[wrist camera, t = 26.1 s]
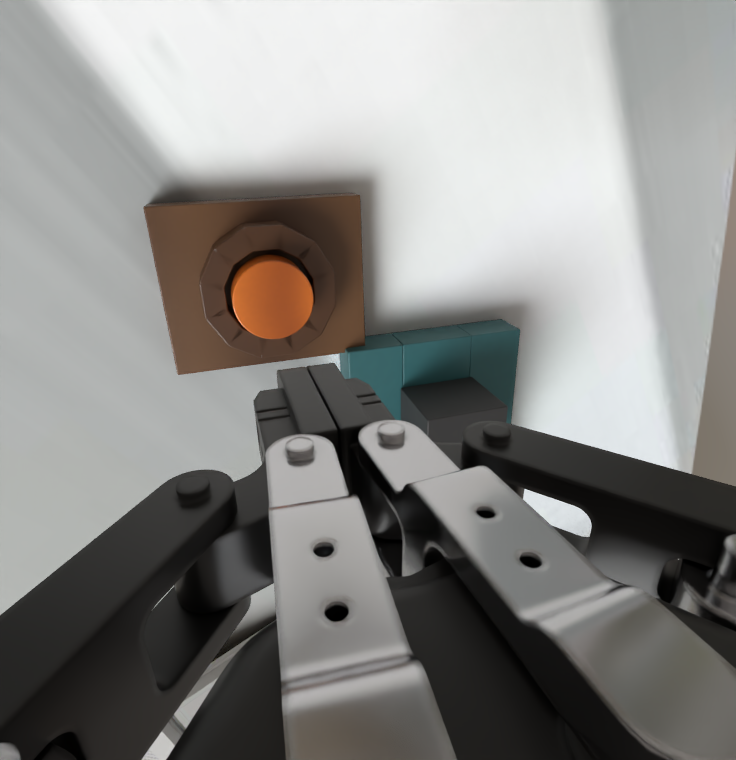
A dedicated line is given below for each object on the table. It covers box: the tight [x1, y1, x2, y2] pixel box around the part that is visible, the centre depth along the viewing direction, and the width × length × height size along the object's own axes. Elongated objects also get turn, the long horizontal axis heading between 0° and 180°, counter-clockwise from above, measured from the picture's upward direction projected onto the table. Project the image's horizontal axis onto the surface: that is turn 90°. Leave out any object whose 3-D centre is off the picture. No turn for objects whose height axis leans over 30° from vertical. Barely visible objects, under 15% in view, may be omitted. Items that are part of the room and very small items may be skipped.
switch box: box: [144, 193, 365, 375], centre depth 28 cm, size 11×9×4 cm
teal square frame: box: [340, 319, 520, 424], centre depth 35 cm, size 12×12×2 cm
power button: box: [231, 255, 314, 339], centre depth 26 cm, size 4×4×2 cm
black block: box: [401, 377, 508, 443], centre depth 33 cm, size 5×6×7 cm
